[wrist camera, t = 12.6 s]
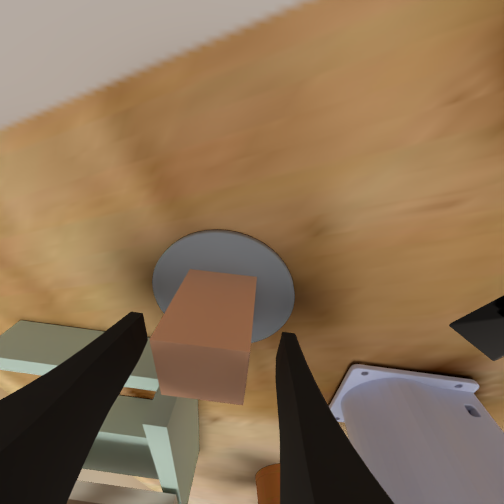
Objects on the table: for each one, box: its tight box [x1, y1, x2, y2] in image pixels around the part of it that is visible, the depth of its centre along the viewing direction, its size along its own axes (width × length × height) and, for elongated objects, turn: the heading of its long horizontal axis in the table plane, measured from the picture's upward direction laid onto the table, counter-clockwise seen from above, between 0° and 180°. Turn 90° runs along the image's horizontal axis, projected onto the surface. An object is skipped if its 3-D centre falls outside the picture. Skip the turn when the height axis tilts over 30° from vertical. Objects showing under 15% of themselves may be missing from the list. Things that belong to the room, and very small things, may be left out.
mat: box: [152, 230, 295, 343], centre depth 14 cm, size 9×9×1 cm
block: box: [149, 269, 257, 405], centre depth 12 cm, size 4×4×5 cm
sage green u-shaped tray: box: [0, 320, 199, 504], centre depth 20 cm, size 14×20×6 cm
